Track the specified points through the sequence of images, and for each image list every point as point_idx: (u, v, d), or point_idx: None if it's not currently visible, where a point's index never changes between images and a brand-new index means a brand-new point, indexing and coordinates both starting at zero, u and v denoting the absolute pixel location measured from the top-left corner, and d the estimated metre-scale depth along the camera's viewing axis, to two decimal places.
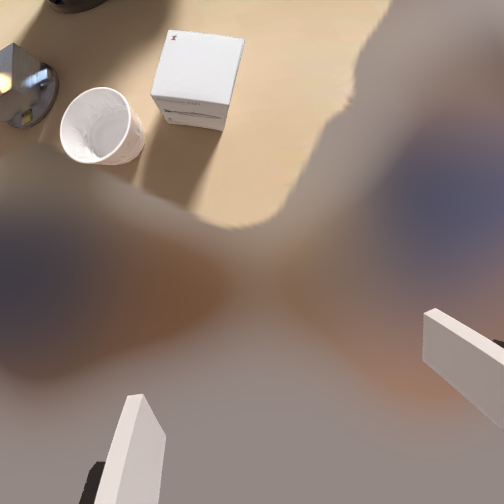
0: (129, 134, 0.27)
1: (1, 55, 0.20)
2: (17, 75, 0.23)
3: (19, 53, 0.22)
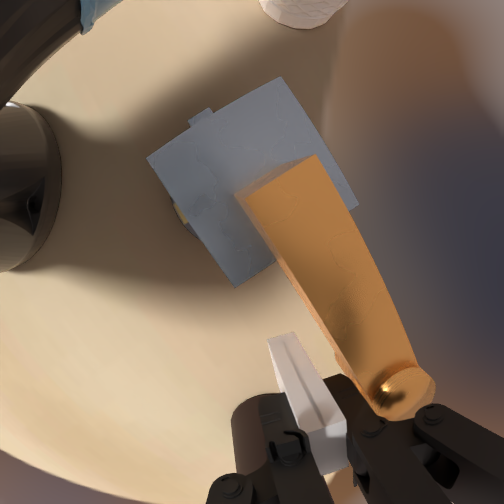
0: None
1: (187, 181, 0.12)
2: None
3: None
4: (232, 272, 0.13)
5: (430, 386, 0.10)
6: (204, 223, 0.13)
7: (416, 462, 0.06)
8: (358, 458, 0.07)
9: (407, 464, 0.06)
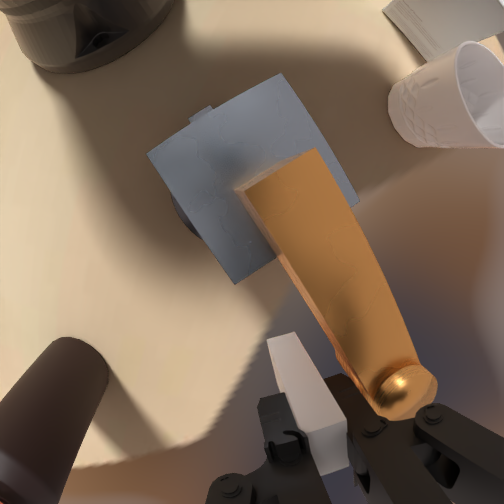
0: (502, 80, 0.14)
1: (187, 177, 0.12)
2: None
3: None
4: (232, 268, 0.13)
5: (432, 384, 0.10)
6: (204, 219, 0.13)
7: (416, 462, 0.06)
8: (358, 458, 0.07)
9: (407, 464, 0.06)
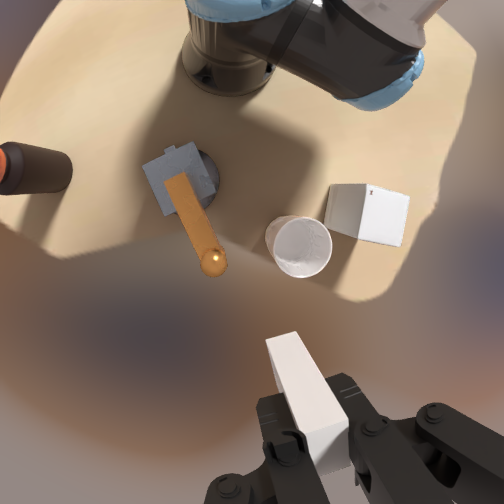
0: (327, 255, 0.41)
1: (154, 176, 0.35)
2: None
3: None
4: (164, 210, 0.36)
5: (223, 259, 0.32)
6: (157, 191, 0.35)
7: (418, 461, 0.06)
8: (360, 457, 0.07)
9: (409, 463, 0.06)
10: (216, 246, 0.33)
